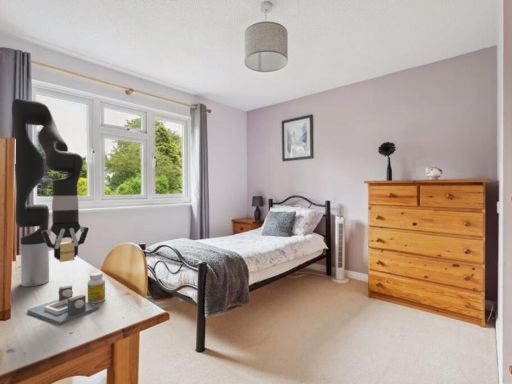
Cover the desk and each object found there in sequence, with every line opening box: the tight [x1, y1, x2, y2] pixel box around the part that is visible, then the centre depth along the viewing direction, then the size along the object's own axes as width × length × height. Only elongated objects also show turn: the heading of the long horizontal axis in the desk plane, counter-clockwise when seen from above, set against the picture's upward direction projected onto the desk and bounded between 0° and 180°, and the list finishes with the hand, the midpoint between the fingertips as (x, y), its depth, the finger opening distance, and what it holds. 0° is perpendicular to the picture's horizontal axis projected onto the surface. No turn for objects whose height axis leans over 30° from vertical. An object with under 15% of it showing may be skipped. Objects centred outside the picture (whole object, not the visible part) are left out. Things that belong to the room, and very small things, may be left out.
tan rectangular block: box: [57, 240, 75, 263], centre depth 95 cm, size 4×4×6 cm
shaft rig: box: [26, 285, 99, 326], centre depth 90 cm, size 18×12×6 cm, turn 64°
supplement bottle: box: [87, 271, 106, 304], centre depth 99 cm, size 5×5×10 cm
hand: (66, 257), depth 95 cm, fingers closed on tan rectangular block, 4 cm apart
